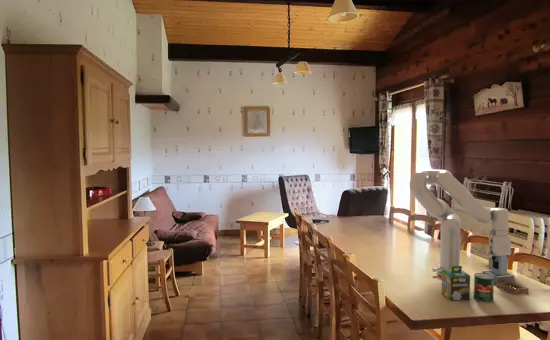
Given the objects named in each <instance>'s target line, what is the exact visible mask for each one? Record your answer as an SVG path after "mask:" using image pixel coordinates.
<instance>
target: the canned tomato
mask: <svg viewBox="0 0 550 340" xmlns="http://www.w3.org/2000/svg"><path fill="white" fill-rule="evenodd" d="M473 280H474V283H473V299H474V300H475V301H477V302H480V303H484V304H485V303H486V304H490V303H493V302H494V293H495V292H494V290H495V289H494V288H495V284H494V276H492V275H490V274H486V273H482V272H475V273H474V278H473Z"/></svg>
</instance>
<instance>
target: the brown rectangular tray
mask: <svg viewBox="0 0 550 340" xmlns="http://www.w3.org/2000/svg"><path fill="white" fill-rule="evenodd" d="M510 286H511V287H510ZM496 287H497V288H498V287H499V288H498V289H500V288H502V289H501V290H503V289H504V290H503V291H505V290H506V291H505V292H507V291H508V292H507V293H510V292H511V293H510V294H512V293H513V294H512V295H514V294H515V295H520V294H519V293H524V294H527V293H526V292H528V293H529V287H526V286H525V285H524V286H523V285H521V284H519V283H516V282H515V281H514V282H512V281H509V282H500V283H497V285H496ZM512 287H514V288H516V289H514V288H512Z"/></svg>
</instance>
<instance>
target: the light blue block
mask: <svg viewBox="0 0 550 340" xmlns="http://www.w3.org/2000/svg"><path fill="white" fill-rule="evenodd" d="M498 262H499V265H498V269H495V268H493V260H492V273H494V274H497V275H499V276H506V275H507V273H508V258H507V256H506V255H503V256H498Z"/></svg>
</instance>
